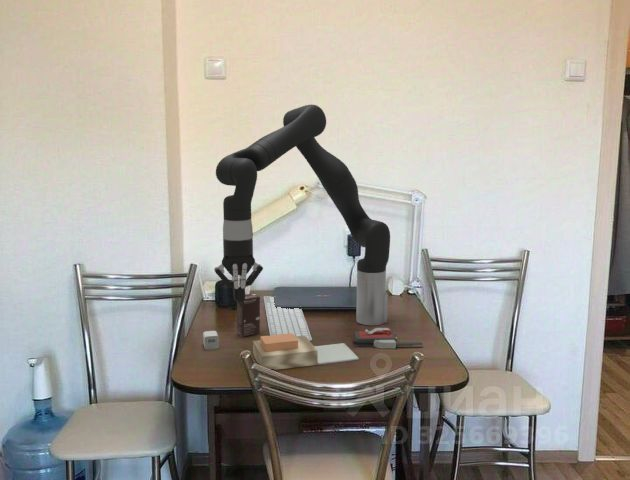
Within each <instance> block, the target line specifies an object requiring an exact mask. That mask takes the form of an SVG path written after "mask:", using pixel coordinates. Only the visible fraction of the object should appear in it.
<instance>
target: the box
mask: <svg viewBox="0 0 630 480" xmlns="http://www.w3.org/2000/svg"><path fill="white" fill-rule="evenodd" d="M260 297H261V296H259V295H258V294H255V293H247V294H246V293H245V300H243V302H239V303H237V302H236V334H237V335H239V336H240V337H242V338H244V337H248V336H254V335H260V332H261V330H260V329H261V328H260V327H261V325H260V324H261V319H260V318H261V317H260V316H261V314H260V311H261V298H260Z"/></svg>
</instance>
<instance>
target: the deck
mask: <svg viewBox="0 0 630 480" xmlns="http://www.w3.org/2000/svg"><path fill="white" fill-rule="evenodd" d="M295 337H296V338H297V340H298V348H296V349H287V350H278V351H269V352H265V351H264V349H263V347H262V346H261V343H260V339H258V340H252V355H253V357H254V359H255V361H256V362H257V364H258V363H259V364H261V365H263V366H266V367H268V368H271V369H274V370H273V371H275V370H284V369H292V368H300V367H308V366H311V367H312V366H317V365H318V350H317V349H316V348H315V347H314V346H315V345H313V343H312V342H311V341H309V340H308V338H307V337H306V336H295ZM259 364H258V365H259Z"/></svg>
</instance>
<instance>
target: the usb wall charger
mask: <svg viewBox="0 0 630 480" xmlns="http://www.w3.org/2000/svg"><path fill="white" fill-rule="evenodd" d="M219 339H220V338H219V335H218V332H217V330H208V331H203V333H202V342H203V347H204V350H209V351H210V350H217V349H219V346H220V344H219V343H220V341H219Z"/></svg>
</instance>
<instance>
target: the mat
mask: <svg viewBox="0 0 630 480" xmlns="http://www.w3.org/2000/svg"><path fill="white" fill-rule="evenodd" d="M313 346H314V347H315V348H316V349H317V350H318V365H326V364H334V363H335V364H336V363H342V362H350V361H357V360H360V359H359V356H357V355H356V354H355V352H353V350H352V349H350V347H348V345H346V343H345V342H344V343H343V342H342V343H341V342H340V343H334V344H333V343H331V344H324V345H313Z"/></svg>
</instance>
